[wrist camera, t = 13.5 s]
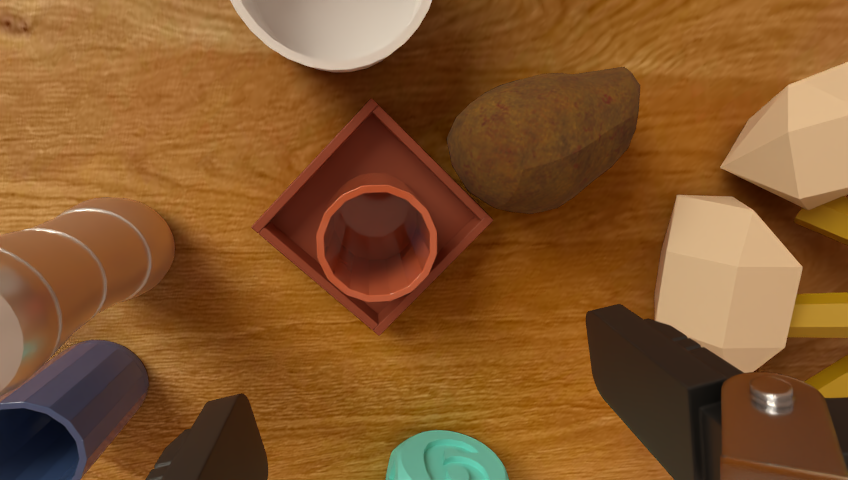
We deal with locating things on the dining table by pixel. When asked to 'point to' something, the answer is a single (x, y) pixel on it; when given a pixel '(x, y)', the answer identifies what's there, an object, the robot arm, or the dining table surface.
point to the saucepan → (333, 29)
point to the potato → (544, 137)
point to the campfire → (764, 236)
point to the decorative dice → (444, 458)
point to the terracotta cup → (376, 238)
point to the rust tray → (354, 155)
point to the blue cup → (69, 411)
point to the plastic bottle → (73, 276)
